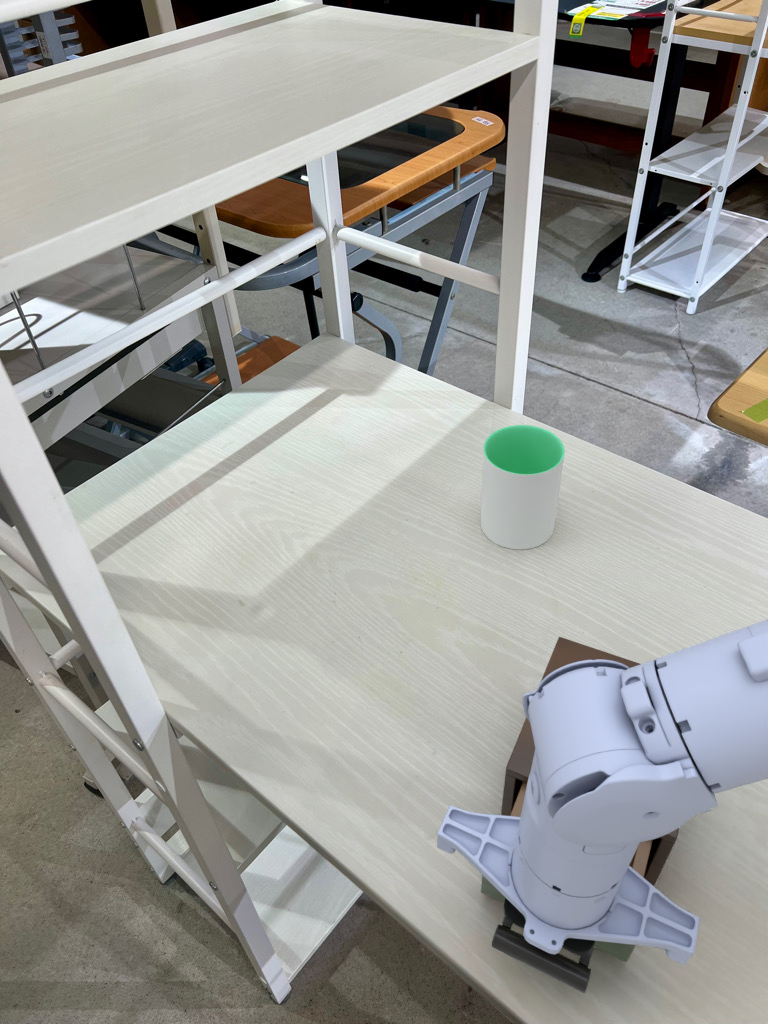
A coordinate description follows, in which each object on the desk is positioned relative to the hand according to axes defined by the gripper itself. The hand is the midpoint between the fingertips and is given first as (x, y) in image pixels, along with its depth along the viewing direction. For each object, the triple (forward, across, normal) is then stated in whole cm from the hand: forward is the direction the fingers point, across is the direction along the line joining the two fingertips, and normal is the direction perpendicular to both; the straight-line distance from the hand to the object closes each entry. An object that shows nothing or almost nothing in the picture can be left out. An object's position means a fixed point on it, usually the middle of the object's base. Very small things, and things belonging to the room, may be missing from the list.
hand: (544, 930), depth 48 cm
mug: (+5, -16, +42) cm, 45 cm away
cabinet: (+4, 0, +14) cm, 15 cm away
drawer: (+4, 0, +5) cm, 7 cm away
